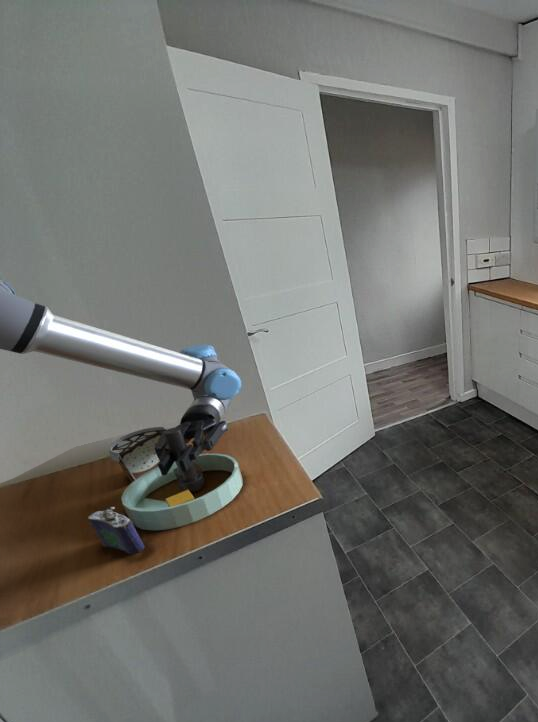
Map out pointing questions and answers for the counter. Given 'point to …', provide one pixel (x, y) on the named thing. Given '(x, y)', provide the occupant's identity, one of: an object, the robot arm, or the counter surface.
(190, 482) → the dark cylinder with base
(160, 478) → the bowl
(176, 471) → the walnut block
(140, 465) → the food container
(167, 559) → the counter surface
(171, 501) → the mustard block
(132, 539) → the flask
